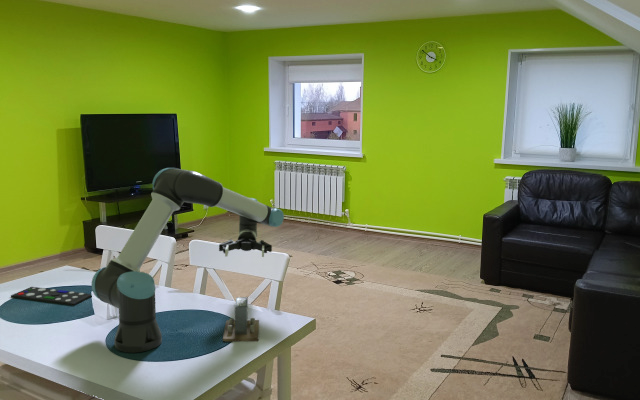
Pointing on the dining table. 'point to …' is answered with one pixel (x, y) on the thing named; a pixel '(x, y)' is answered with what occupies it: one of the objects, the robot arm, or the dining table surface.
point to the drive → (241, 315)
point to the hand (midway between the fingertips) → (244, 253)
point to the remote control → (52, 296)
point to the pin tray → (251, 335)
